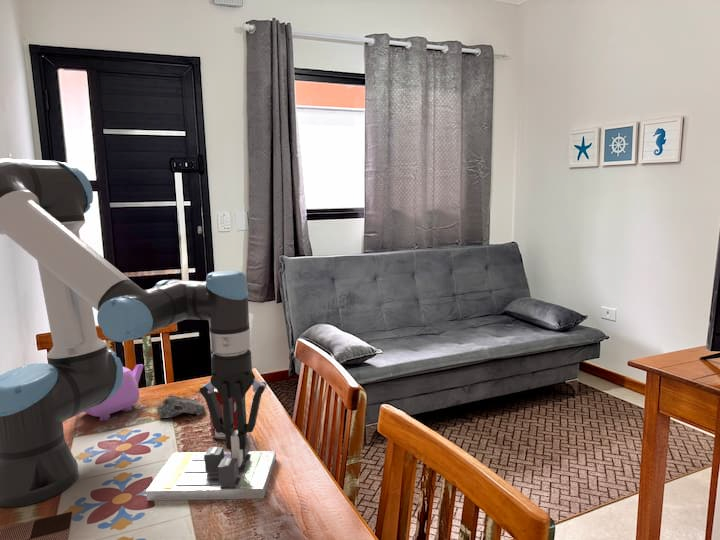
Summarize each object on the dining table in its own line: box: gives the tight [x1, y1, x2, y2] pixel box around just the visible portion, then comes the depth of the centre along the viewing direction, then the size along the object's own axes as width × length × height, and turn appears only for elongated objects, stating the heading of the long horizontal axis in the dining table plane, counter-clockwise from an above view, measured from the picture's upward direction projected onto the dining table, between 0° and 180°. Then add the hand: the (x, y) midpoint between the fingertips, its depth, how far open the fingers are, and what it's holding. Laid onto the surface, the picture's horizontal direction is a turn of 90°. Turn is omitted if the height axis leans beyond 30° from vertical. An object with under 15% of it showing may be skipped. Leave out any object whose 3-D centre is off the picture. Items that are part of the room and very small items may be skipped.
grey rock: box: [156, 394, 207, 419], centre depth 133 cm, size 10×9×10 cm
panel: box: [145, 450, 277, 502], centre depth 102 cm, size 22×14×2 cm, turn 90°
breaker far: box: [230, 436, 250, 459], centre depth 106 cm, size 3×3×4 cm
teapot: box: [83, 363, 144, 421], centre depth 135 cm, size 20×12×13 cm, turn 144°
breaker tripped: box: [204, 446, 225, 472], centre depth 102 cm, size 3×3×4 cm
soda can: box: [209, 387, 238, 440], centre depth 120 cm, size 7×7×12 cm
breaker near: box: [218, 458, 239, 484], centre depth 97 cm, size 3×3×4 cm
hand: (237, 463), depth 102 cm, fingers closed
